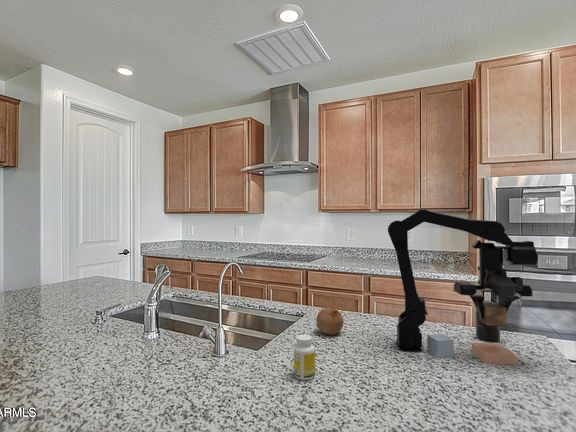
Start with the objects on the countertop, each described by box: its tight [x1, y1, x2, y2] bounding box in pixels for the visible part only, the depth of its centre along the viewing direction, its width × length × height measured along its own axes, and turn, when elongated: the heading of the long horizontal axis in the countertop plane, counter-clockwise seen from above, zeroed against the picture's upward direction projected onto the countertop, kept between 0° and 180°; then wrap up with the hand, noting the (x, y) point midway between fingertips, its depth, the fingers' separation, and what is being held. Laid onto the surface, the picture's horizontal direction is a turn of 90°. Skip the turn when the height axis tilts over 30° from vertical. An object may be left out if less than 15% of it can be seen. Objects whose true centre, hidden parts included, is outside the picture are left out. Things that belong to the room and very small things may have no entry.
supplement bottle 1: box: [293, 334, 316, 381], centre depth 81 cm, size 5×5×10 cm
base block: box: [471, 341, 517, 365], centre depth 91 cm, size 8×8×3 cm
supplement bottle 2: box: [475, 300, 501, 343], centre depth 105 cm, size 7×7×12 cm
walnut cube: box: [479, 302, 508, 327], centre depth 91 cm, size 5×5×5 cm
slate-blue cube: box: [426, 333, 454, 359], centre depth 94 cm, size 5×5×5 cm
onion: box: [315, 307, 345, 336], centre depth 111 cm, size 10×9×10 cm
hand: (492, 319), depth 91 cm, fingers closed on walnut cube, 5 cm apart
